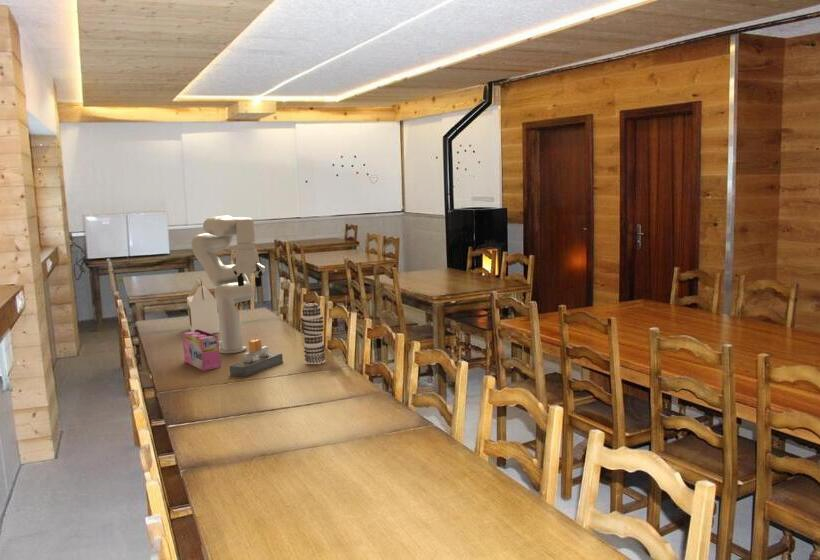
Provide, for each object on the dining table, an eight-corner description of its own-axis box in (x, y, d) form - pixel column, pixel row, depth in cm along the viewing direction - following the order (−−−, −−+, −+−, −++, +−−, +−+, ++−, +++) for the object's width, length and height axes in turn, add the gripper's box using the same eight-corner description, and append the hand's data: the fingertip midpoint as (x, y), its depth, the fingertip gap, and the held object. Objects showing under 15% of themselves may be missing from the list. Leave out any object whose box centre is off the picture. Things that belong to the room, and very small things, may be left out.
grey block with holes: (230, 375, 302) (229, 366, 302) (267, 361, 323) (267, 352, 323) (245, 377, 299) (245, 367, 298) (282, 362, 320) (282, 353, 319)
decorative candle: (322, 365, 311) (318, 305, 308) (301, 365, 313) (296, 306, 310) (329, 359, 320) (324, 301, 317) (308, 359, 322) (304, 302, 318)
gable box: (189, 328, 408) (184, 277, 405) (214, 325, 413) (210, 275, 409) (193, 336, 388) (188, 282, 384) (219, 332, 392) (214, 279, 389)
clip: (243, 372, 306) (240, 344, 304) (264, 364, 318) (262, 336, 316) (249, 373, 304) (246, 344, 303) (270, 364, 316) (268, 337, 315)
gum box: (183, 361, 332) (180, 331, 330) (200, 358, 337) (197, 328, 335) (203, 371, 313) (200, 339, 311) (221, 367, 318) (218, 335, 316)
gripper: (225, 247, 323) (228, 287, 325) (256, 247, 315) (260, 287, 317) (236, 245, 329) (240, 284, 332) (268, 245, 321) (271, 285, 324)
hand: (249, 286), depth 324 cm, fingers open, 9 cm apart
